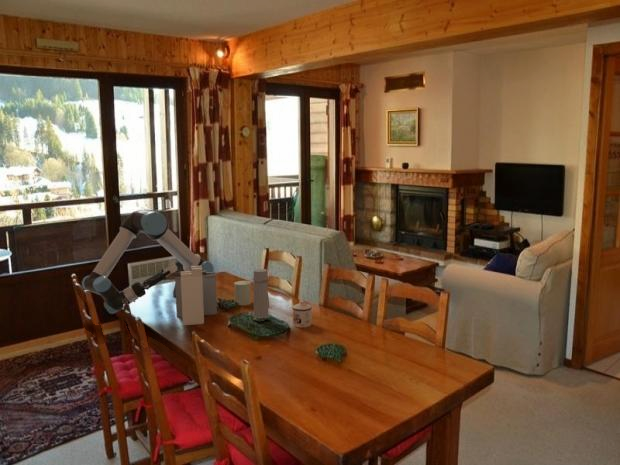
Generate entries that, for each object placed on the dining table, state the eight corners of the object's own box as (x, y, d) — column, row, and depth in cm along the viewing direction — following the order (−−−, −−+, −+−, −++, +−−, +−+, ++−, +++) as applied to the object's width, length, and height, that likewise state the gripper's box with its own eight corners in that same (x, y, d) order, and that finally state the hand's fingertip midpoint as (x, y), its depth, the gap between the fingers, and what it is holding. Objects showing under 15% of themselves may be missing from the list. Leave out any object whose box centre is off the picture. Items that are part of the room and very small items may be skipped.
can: (250, 305, 289) (249, 283, 287) (233, 305, 289) (232, 283, 287) (252, 300, 298) (251, 279, 296) (235, 300, 298) (235, 279, 296)
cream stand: (182, 319, 266) (180, 266, 262) (203, 317, 268) (201, 265, 264) (182, 325, 256) (180, 270, 252) (204, 323, 259) (202, 269, 255)
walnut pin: (161, 278, 270) (161, 272, 269) (206, 276, 275) (205, 270, 274) (161, 280, 267) (161, 274, 266) (206, 277, 272) (206, 271, 271)
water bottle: (262, 323, 258) (261, 272, 254) (250, 320, 263) (249, 270, 259) (274, 318, 265) (273, 269, 262) (262, 316, 270) (261, 267, 266)
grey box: (176, 313, 276) (175, 274, 273) (216, 310, 280) (214, 272, 277) (176, 317, 269) (174, 277, 266) (217, 314, 274) (215, 274, 271)
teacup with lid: (288, 324, 257) (288, 300, 255) (304, 320, 262) (304, 297, 260) (303, 330, 247) (303, 306, 245) (319, 327, 252) (319, 303, 251)
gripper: (140, 293, 275) (180, 269, 278) (137, 302, 259) (179, 276, 262) (132, 281, 274) (172, 257, 277) (128, 289, 257) (171, 263, 260)
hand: (175, 266), depth 269 cm, fingers open, 4 cm apart
